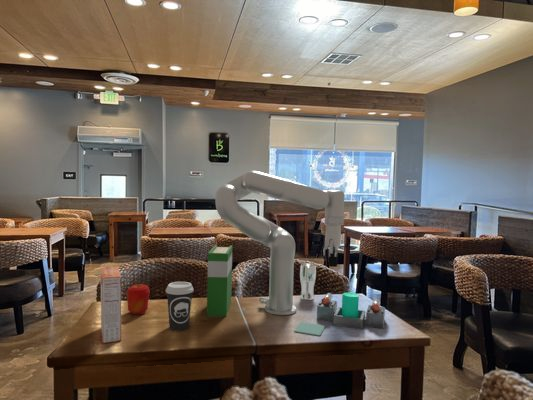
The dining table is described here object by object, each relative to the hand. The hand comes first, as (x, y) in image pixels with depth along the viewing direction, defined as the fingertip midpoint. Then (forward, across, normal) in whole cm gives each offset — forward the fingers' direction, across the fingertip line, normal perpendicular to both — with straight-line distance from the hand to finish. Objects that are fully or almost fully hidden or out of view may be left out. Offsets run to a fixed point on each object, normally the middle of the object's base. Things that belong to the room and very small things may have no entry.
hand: (332, 266), depth 155 cm
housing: (+18, +10, +9) cm, 22 cm away
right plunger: (+13, +8, +18) cm, 23 cm away
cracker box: (+17, +54, -63) cm, 85 cm away
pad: (+18, +24, -3) cm, 30 cm away
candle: (+18, +11, +9) cm, 23 cm away
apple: (+17, +34, -68) cm, 78 cm away
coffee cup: (+18, +40, -46) cm, 63 cm away
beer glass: (+18, -11, -13) cm, 25 cm away
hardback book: (+18, +17, -42) cm, 49 cm away
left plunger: (+13, +8, 0) cm, 15 cm away
